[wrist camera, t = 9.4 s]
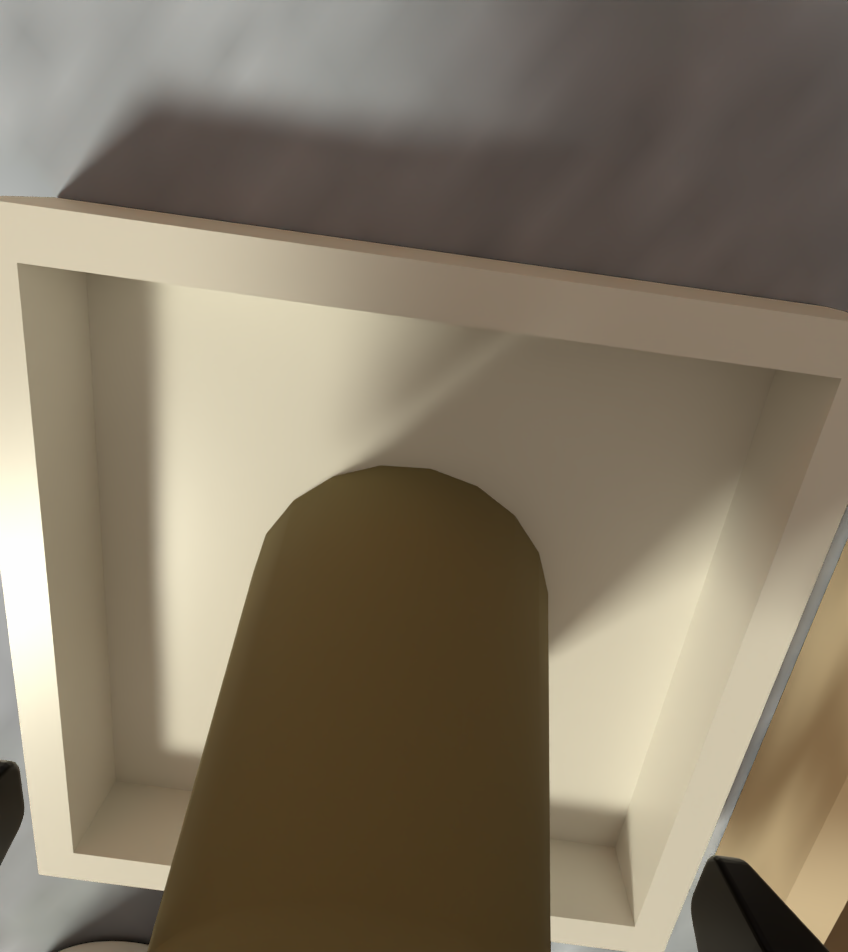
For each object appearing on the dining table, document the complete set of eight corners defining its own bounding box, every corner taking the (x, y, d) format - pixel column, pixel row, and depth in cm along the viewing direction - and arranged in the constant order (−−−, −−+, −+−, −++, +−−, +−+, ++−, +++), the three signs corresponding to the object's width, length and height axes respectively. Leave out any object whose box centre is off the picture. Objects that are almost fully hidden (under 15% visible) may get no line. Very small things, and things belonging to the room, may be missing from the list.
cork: (481, 416, 12) (642, 1563, 2) (588, 669, 14) (949, 1894, 4) (197, 531, 13) (-679, 1643, 3) (333, 750, 15) (90, 1866, 5)
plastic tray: (633, 853, 17) (662, 956, 14) (96, 781, 17) (39, 874, 14) (826, 306, 12) (918, 330, 9) (54, 196, 12) (-47, 194, 9)
